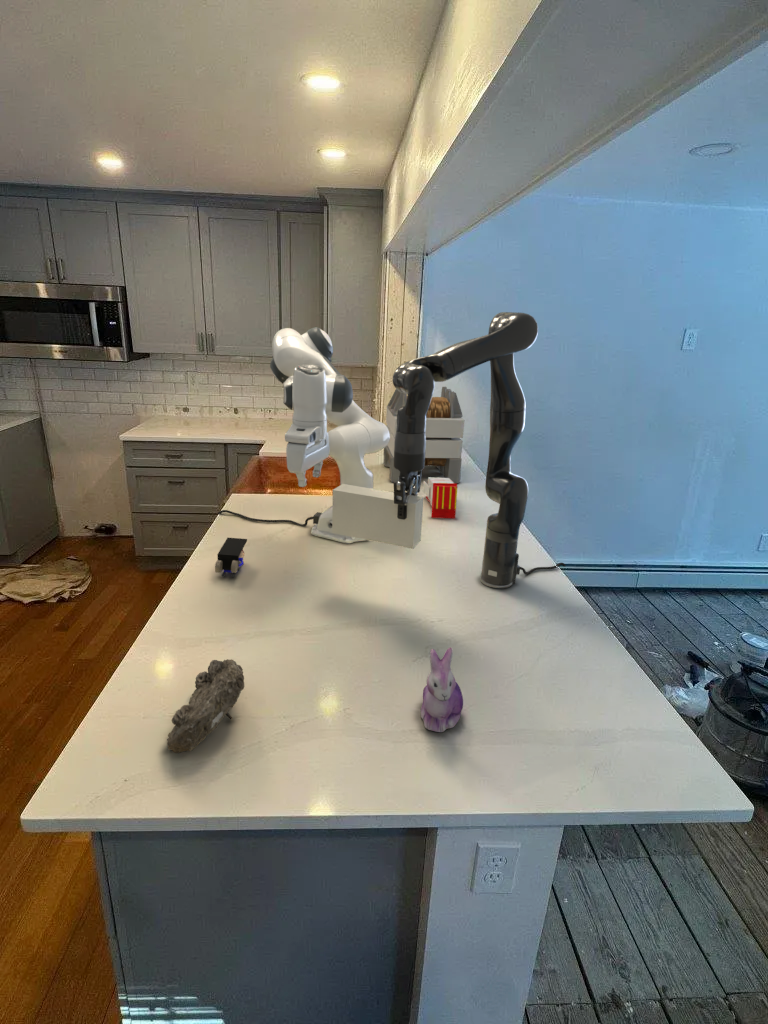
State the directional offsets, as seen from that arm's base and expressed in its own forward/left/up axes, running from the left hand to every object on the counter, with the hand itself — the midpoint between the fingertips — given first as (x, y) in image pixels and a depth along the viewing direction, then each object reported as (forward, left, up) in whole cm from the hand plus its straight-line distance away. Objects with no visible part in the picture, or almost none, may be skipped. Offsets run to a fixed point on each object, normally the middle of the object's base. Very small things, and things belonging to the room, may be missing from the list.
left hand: (309, 481), depth 151 cm
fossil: (+4, -57, -30) cm, 65 cm away
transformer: (+4, +126, -30) cm, 130 cm away
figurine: (+46, -43, -30) cm, 70 cm away
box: (+20, -3, -12) cm, 23 cm away
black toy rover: (-25, 0, -30) cm, 39 cm away
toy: (+22, +81, -30) cm, 89 cm away
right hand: (+28, -3, -4) cm, 28 cm away
